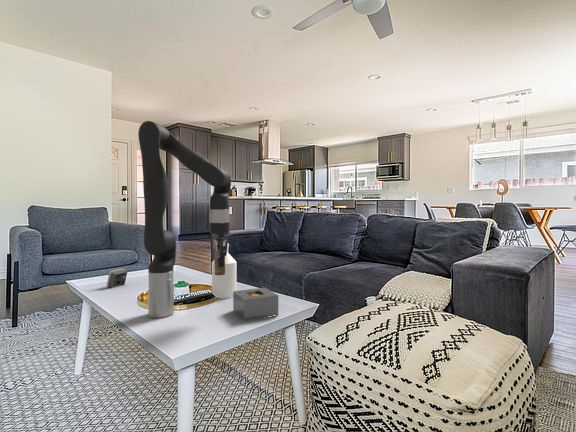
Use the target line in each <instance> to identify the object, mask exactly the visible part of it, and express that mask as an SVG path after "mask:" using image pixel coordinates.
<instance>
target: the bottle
mask: <svg viewBox="0 0 576 432" xmlns="http://www.w3.org/2000/svg"><path fill="white" fill-rule="evenodd" d="M229 247H230V244H229V243H228V244H227V255H226V256H225V275H215V259H213V261H211V285H212V286H211V288H212V290H211V291H212V293H211V294H213V295H214V296H217V297H218V298H217V299H230V298H231V299H232V298H233V291H237V267H238V265H237V261H236V259H235V258H234V257H233V256H232V255H231V254H230V253H229Z"/></svg>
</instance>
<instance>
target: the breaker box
mask: <svg viewBox="0 0 576 432" xmlns="http://www.w3.org/2000/svg"><path fill="white" fill-rule="evenodd" d="M253 294H259V295H254V296H250V295H253ZM232 298H233V301H232V303H233V312H234V313H235V314H236V315H238V317H239V318H240V319H242V320H243V322H246V321H253V320H260V319H265V318H264V317H267V318H269V317H268V316H273V315H278V316H279V294H277V293H275V292H274V291H272V290H270V289H268V288H266V287H259V288H250V289H242V290H241V289H240V290H236V291H233V297H232ZM273 317H274V316H273Z"/></svg>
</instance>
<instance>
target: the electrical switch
mask: <svg viewBox="0 0 576 432" xmlns="http://www.w3.org/2000/svg"><path fill="white" fill-rule="evenodd" d="M127 276H128V271H126V270H125V268H117V269H113V270H110V271H109V272H108V277H107V282H106V288H108V289H109V288H111V289H114V288H117V287H123V286H125V284H126V281H127Z"/></svg>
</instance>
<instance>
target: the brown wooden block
mask: <svg viewBox="0 0 576 432" xmlns="http://www.w3.org/2000/svg"><path fill="white" fill-rule="evenodd" d="M219 249H220V248H219ZM222 253H223V251H222ZM214 260H215V275H225V266H224V267H219V266H218V251H216V244H215V253H214ZM224 264H225V257H224Z"/></svg>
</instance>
